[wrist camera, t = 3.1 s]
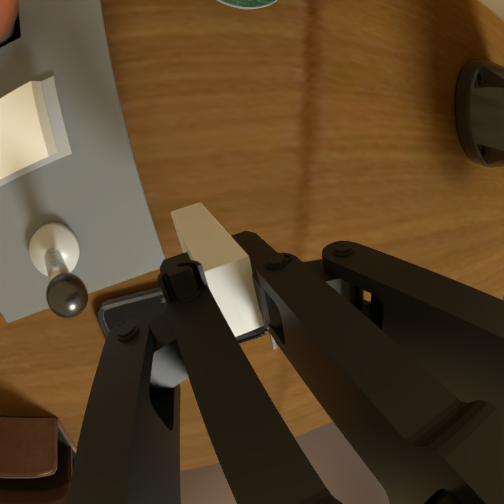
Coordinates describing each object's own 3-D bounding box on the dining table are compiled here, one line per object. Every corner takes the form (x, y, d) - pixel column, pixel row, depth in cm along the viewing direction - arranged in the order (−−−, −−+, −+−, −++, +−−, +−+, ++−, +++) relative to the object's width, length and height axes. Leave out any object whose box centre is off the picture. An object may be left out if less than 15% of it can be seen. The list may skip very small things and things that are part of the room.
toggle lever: (59, 234, 17) (80, 273, 12) (70, 261, 18) (99, 312, 12) (32, 247, 16) (40, 295, 10) (45, 275, 17) (62, 333, 11)
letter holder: (85, 459, 31) (96, 551, 18) (-28, 452, 24) (-35, 530, 12) (58, 414, 27) (58, 526, 15) (-63, 407, 20) (-84, 493, 8)
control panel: (96, -36, 13) (93, -59, 10) (162, 249, 24) (168, 270, 21) (-58, 40, 10) (-80, 33, 7) (16, 303, 21) (4, 329, 18)
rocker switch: (43, 81, 13) (30, 80, 11) (59, 151, 15) (48, 156, 13) (-28, 123, 12) (-41, 126, 11) (-11, 185, 14) (-24, 192, 13)
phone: (272, 332, 31) (124, 375, 27) (267, 326, 32) (123, 367, 28) (266, 262, 27) (93, 307, 23) (261, 256, 28) (94, 300, 24)
